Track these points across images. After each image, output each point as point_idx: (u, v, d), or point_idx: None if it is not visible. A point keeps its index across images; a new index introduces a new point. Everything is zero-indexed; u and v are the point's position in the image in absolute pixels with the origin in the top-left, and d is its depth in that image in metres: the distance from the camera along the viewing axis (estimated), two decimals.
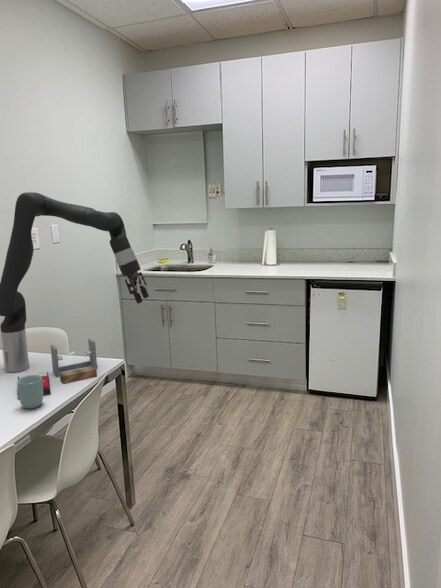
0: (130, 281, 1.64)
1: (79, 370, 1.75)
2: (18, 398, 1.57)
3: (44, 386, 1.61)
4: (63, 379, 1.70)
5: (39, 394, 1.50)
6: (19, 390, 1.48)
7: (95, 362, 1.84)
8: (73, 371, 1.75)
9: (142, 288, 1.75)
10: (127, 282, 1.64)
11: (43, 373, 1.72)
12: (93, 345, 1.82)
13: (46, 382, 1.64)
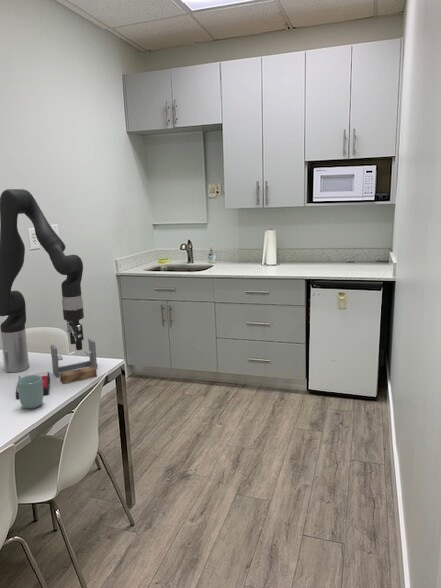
0: (81, 328, 1.65)
1: (79, 370, 1.75)
2: (16, 398, 1.57)
3: None
4: (63, 379, 1.70)
5: (39, 394, 1.50)
6: (19, 390, 1.48)
7: (95, 362, 1.84)
8: (73, 371, 1.75)
9: None
10: (77, 329, 1.64)
11: (44, 373, 1.72)
12: (93, 345, 1.82)
13: (45, 382, 1.64)
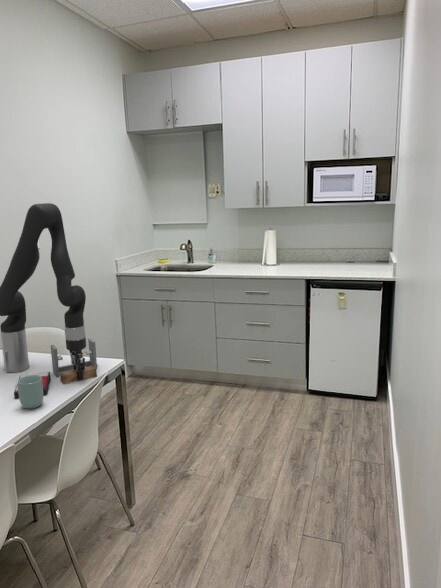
0: (83, 361, 1.68)
1: None
2: None
3: None
4: (63, 378, 1.70)
5: (39, 394, 1.50)
6: (19, 390, 1.48)
7: (95, 362, 1.84)
8: (73, 370, 1.75)
9: None
10: (80, 362, 1.68)
11: (44, 373, 1.72)
12: (93, 345, 1.82)
13: (44, 382, 1.63)
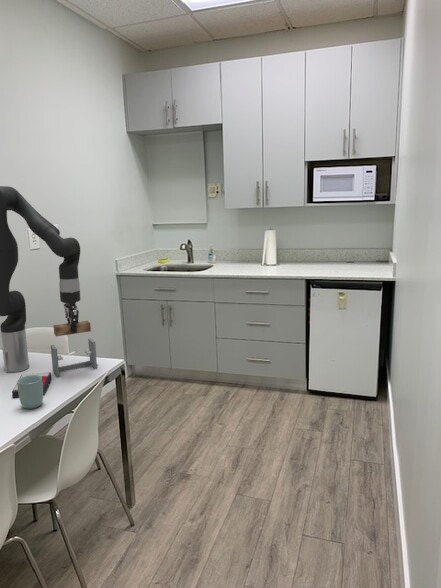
0: (77, 313, 1.68)
1: None
2: None
3: None
4: (57, 331, 1.69)
5: (39, 394, 1.50)
6: (19, 390, 1.48)
7: (95, 362, 1.84)
8: None
9: None
10: (73, 314, 1.67)
11: (45, 373, 1.72)
12: (93, 345, 1.82)
13: None
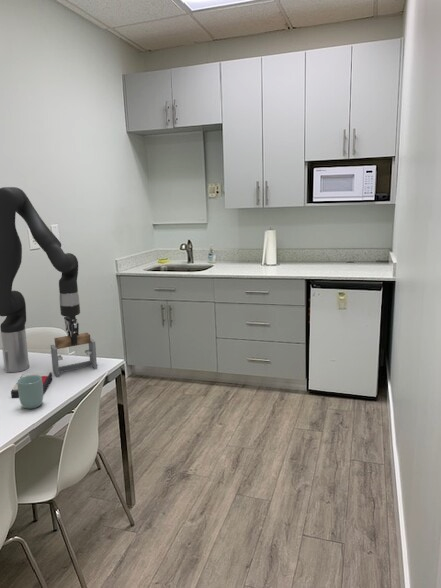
0: (77, 326, 1.74)
1: None
2: None
3: None
4: (58, 343, 1.75)
5: (39, 394, 1.50)
6: (19, 390, 1.48)
7: (95, 362, 1.84)
8: (67, 336, 1.80)
9: None
10: (74, 327, 1.73)
11: (45, 373, 1.72)
12: (93, 345, 1.82)
13: None
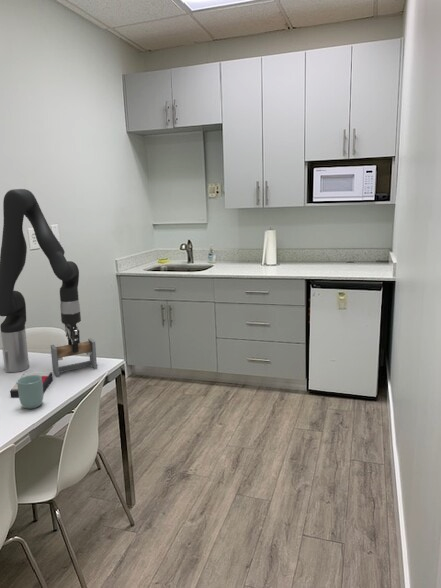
0: (78, 333, 1.74)
1: None
2: None
3: None
4: (58, 352, 1.76)
5: (39, 394, 1.50)
6: (19, 390, 1.48)
7: (95, 362, 1.84)
8: (68, 345, 1.81)
9: (70, 338, 1.83)
10: (75, 333, 1.74)
11: (46, 373, 1.72)
12: (93, 345, 1.82)
13: None
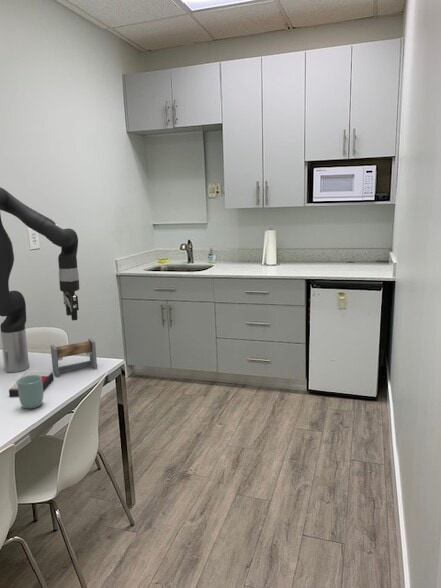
0: (76, 299, 1.72)
1: (74, 344, 1.82)
2: None
3: None
4: (58, 352, 1.76)
5: (39, 394, 1.50)
6: (19, 390, 1.48)
7: (95, 362, 1.84)
8: (68, 345, 1.81)
9: (68, 305, 1.82)
10: (73, 299, 1.72)
11: (46, 373, 1.72)
12: (93, 345, 1.82)
13: None
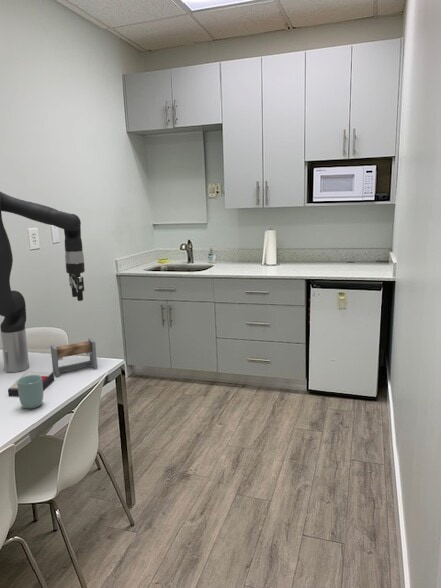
0: (82, 280, 1.82)
1: (74, 344, 1.82)
2: None
3: None
4: (58, 352, 1.76)
5: (39, 394, 1.50)
6: (19, 390, 1.48)
7: (95, 362, 1.84)
8: (68, 345, 1.81)
9: (74, 287, 1.92)
10: (79, 280, 1.81)
11: (47, 373, 1.72)
12: (93, 345, 1.82)
13: None
